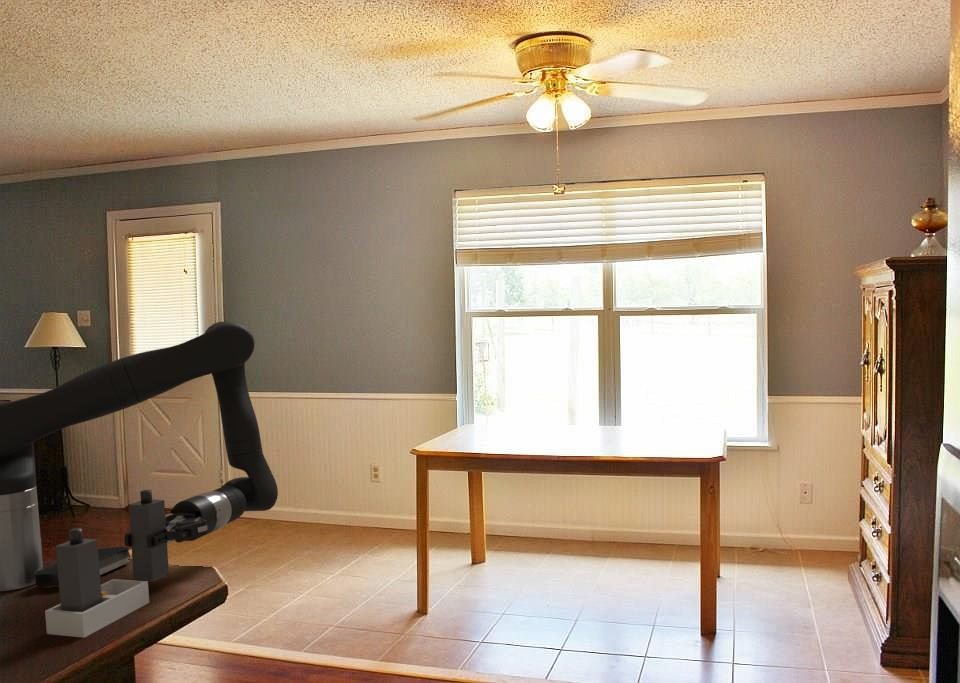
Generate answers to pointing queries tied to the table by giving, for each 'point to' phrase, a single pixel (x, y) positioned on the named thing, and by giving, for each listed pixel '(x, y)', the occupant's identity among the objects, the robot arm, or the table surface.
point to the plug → (144, 522)
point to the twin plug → (78, 573)
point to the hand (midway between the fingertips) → (137, 541)
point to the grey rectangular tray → (99, 609)
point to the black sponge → (107, 562)
